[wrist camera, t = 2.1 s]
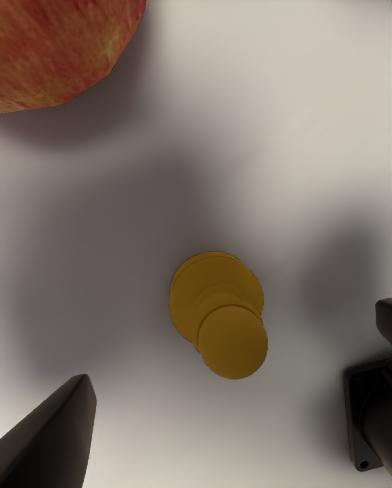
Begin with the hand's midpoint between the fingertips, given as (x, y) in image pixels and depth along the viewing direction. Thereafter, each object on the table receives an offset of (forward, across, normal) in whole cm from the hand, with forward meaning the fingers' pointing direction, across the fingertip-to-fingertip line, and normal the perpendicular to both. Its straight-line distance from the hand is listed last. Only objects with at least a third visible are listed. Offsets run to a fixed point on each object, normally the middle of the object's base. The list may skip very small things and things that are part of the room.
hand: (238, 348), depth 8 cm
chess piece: (+4, 0, 0) cm, 5 cm away
